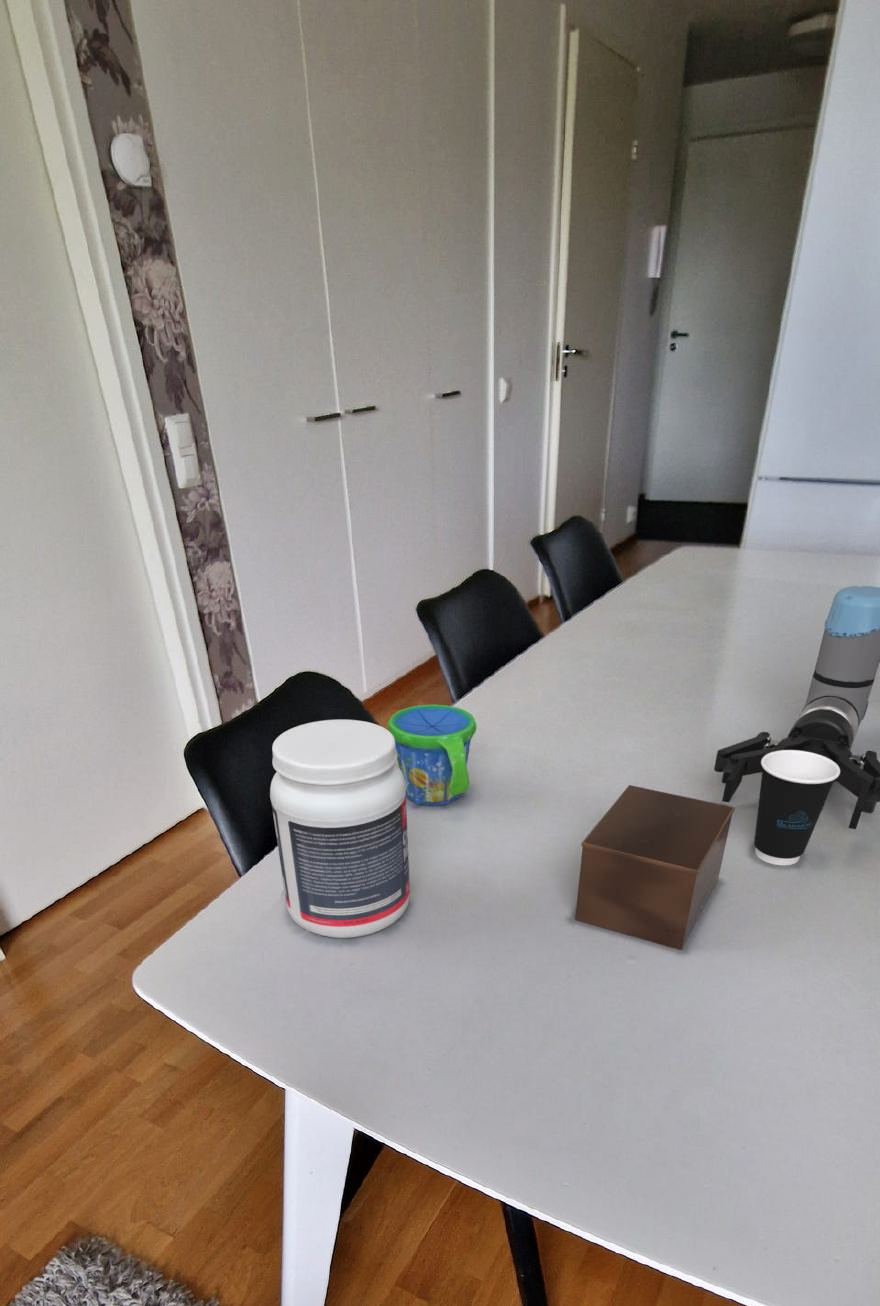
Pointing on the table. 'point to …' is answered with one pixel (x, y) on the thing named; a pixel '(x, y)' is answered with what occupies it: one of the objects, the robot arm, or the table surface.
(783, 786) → the dixie cup
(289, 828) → the supplement tub
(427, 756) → the snack cup
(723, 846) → the brown box
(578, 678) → the table surface
